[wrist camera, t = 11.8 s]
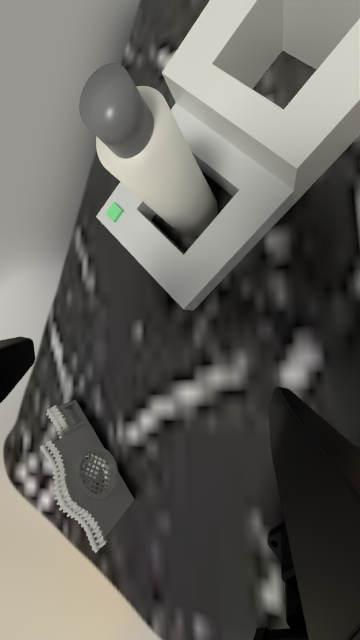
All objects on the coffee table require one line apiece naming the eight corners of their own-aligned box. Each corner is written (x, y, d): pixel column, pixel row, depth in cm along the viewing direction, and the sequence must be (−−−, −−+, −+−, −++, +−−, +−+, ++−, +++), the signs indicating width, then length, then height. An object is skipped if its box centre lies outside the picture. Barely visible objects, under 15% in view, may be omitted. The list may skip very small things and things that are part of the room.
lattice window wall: (68, 404, 27) (13, 426, 21) (77, 395, 26) (24, 415, 21) (127, 507, 24) (83, 564, 18) (139, 499, 23) (97, 555, 18)
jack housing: (426, 64, 16) (491, -45, 11) (193, 310, 21) (170, 308, 17) (282, -6, 19) (285, -114, 14) (113, 226, 24) (74, 204, 20)
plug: (226, 198, 20) (166, 49, 9) (203, 245, 21) (120, 161, 10) (185, 182, 22) (88, 36, 10) (164, 227, 22) (52, 135, 11)
